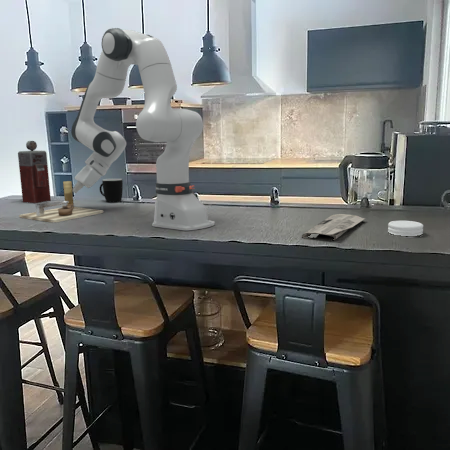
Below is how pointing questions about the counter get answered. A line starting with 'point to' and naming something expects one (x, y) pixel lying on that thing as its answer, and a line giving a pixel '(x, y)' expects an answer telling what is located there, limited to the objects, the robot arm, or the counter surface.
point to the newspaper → (334, 225)
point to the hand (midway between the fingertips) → (73, 192)
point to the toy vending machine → (34, 174)
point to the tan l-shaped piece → (67, 199)
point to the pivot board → (55, 217)
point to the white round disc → (405, 228)
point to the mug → (112, 189)
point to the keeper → (41, 206)
